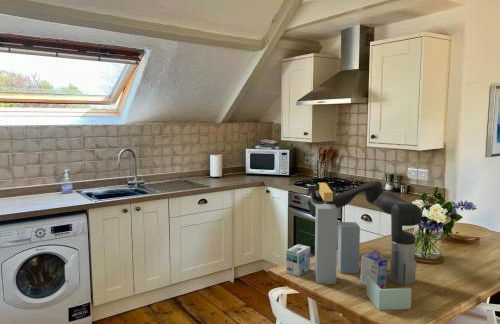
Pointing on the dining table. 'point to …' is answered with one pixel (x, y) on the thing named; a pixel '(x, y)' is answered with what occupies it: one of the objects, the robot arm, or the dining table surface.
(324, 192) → the rail
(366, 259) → the ink cartridge box
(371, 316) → the dining table surface
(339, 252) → the low post
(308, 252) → the light bulb box
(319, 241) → the tall post
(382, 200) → the robot arm
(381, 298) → the l-shaped corner panel
